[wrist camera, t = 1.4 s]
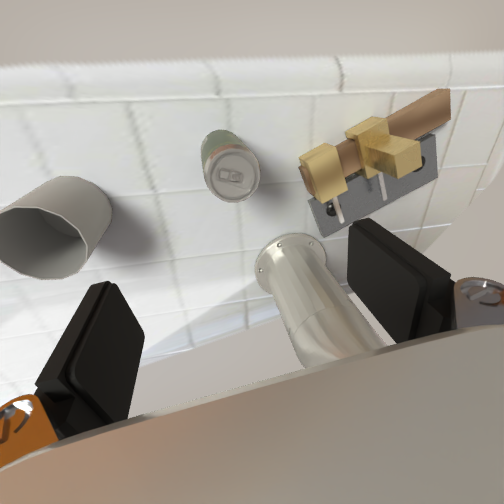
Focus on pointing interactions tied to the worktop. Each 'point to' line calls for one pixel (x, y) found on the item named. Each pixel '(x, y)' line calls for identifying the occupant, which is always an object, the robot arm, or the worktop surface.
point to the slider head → (383, 152)
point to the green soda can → (229, 166)
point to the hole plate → (374, 191)
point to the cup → (54, 228)
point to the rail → (346, 155)
